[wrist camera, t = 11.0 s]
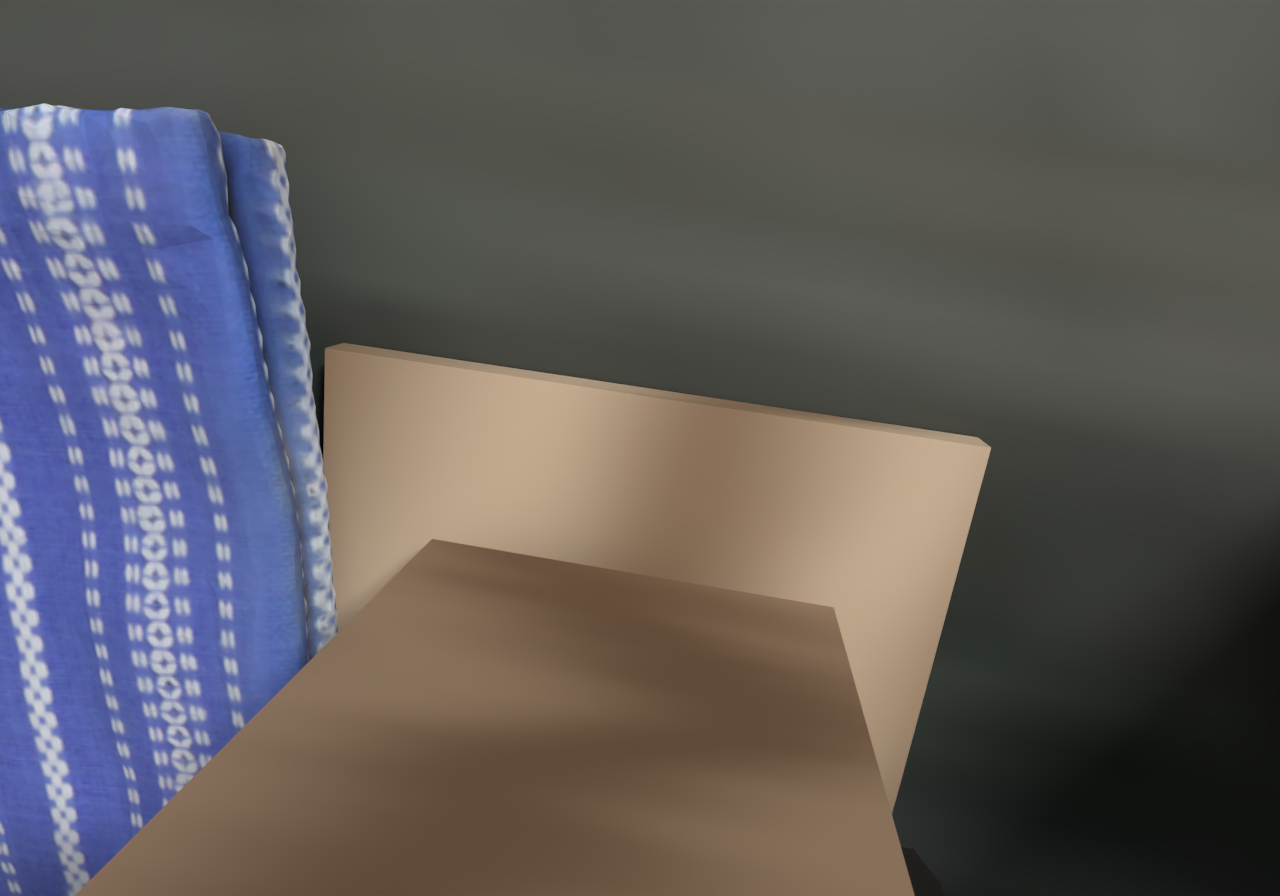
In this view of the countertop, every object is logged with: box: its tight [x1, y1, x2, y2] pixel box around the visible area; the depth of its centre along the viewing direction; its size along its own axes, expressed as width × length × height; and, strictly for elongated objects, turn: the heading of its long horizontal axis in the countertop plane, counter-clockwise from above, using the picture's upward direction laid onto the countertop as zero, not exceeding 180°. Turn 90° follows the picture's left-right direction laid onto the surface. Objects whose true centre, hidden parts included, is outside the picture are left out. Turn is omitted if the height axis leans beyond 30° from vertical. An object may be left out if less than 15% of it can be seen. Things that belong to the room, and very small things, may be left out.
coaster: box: [323, 343, 991, 813], centre depth 13 cm, size 10×11×1 cm
